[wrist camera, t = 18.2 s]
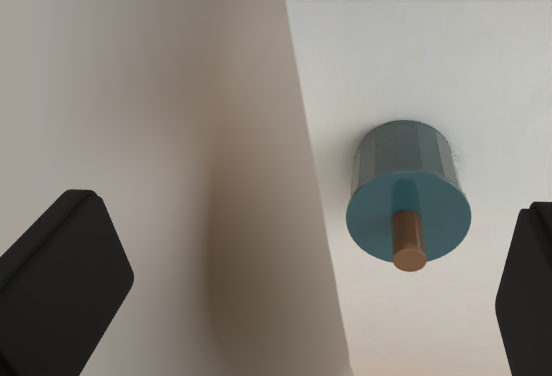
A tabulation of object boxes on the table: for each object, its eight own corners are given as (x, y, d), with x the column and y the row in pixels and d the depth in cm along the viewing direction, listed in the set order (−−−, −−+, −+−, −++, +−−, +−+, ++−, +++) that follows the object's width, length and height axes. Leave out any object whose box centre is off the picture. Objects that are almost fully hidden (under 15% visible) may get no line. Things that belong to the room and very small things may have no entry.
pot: (354, 198, 46) (350, 254, 40) (354, 120, 41) (349, 169, 34) (446, 201, 44) (457, 259, 38) (457, 119, 39) (474, 171, 32)
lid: (347, 251, 40) (343, 299, 36) (345, 162, 35) (340, 205, 30) (460, 257, 38) (471, 309, 34) (477, 163, 33) (493, 210, 28)
